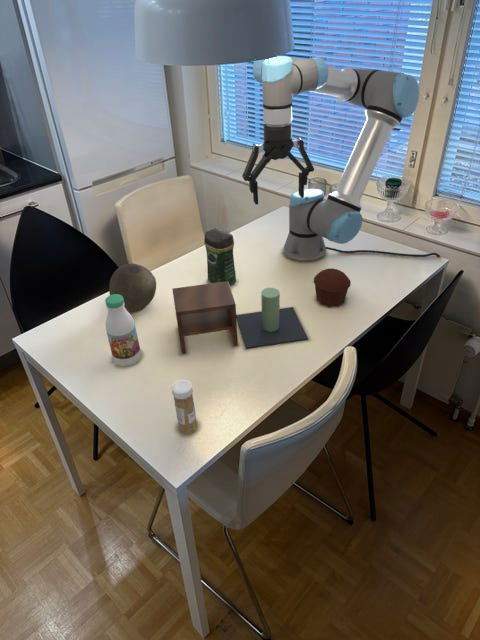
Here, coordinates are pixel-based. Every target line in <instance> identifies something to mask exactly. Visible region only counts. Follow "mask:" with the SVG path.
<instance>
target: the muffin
mask: <svg viewBox="0 0 480 640" xmlns="http://www.w3.org/2000/svg"><path fill="white" fill-rule="evenodd" d="M312 283H313V284H314V288H315V297H316V301H317V302H318V303H319V305H321V306H324V307H328V308H336V307H337V308H338V307H339V306H341V305H344V304H345V301H346V297H347V294H348V290H349V289H350V287H351V285H352V280H350V278H349V277H348V275H346V273H345V272H344V271H342V270H340V269H339V268H333V267H332V268H331V267H330V268H325V269H322V270H320V271H319V272H317V274H316V275H315V276H314V277H313V282H312Z"/></svg>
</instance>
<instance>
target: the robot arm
mask: <svg viewBox="0 0 480 640" xmlns="http://www.w3.org/2000/svg"><path fill="white" fill-rule="evenodd" d="M276 56H277V57H273V58H269V59H265V60H260V61H255V60H254V62H253V64H252V65H253V66H252V75H253V78H254V79H255V81H256V82H258V83H259V84H261V87H262V88H261V89H262V111H263V112H262V113H263V114H262V116H263V117H262V118H263V120H262V121H263V123H264V125H263V143H262V144H257V143H255V142H254V143H253V144H252V147H251V153H250V156H249V158H248V161H247V163H246V165H245V168H244V170H243V172H242V175H241V176H242V179H243V180H244V182H248V185H249V186H248V187H249V192H250V193H251V194H252V197H253V202H254V204H255V205H259V188H258V187H259V186H258V181H257V179H258V178H259V176H260V175H261V173H262V172H263V170H264V169H265V167H266V166H267V165H268V164H269V163H271V161H272V160H273V161H277V160H285V159H286V158H289V159H290V160H291V161H292V163H293V164H294V165H295V166H296V167H297V168H298V170H300V171H301V172H298V190H297V191H295V192H293V193H292V194H291V195H290V198H289V204H288V209H289V210H288V215H289V216H288V218H289V219H288V234H287V237H286V239H285V242H284V245H283V254H284V256H286V257H287V258H288V259H290V260H292V261H296V262H303V263H307V262H315V261H318V260H321V259H322V258H323V257H324V256H325V255H326V250H329V251H332V252H333V251H334V252H338V253H341V254H355V253H356V254H357V253H371V254H383V255H392V256H401V257H413V258H426V257H430V256H436V257H438V258H440V257H441V255H440V254H439V253H437V252H430V253H426V254H416V253H415V254H412V253H401V252H400V253H399V252H391V251H383V250H370V249H358V250H357V249H356V250H341V249H338V248H335V247H330V246H326V244H325V240H324V238H325V239H327V240H328V241H330V242H333V243H336V244H340V245H344V244H347V243H349V242H350V241H352V240H353V239H355V238H356V236H357V235H358V234H359V232H360V231H361V228H362V225H363V218H364V217H363V215H362V214H361V210H362V204H361V199H362V198H363V194H364V192H365V191H366V188H367V186H368V184H369V182H370V180H371V177H372V175H373V173H374V171H375V168H376V167H377V163H378V161H379V159H380V157H381V154H382V153H383V150H384V148H385V146H386V144H387V142H388V139H389V137H390V135H391V133H392V130H394V128H397V127H399V126H400V125H401V122H402V121H403V119H406V118H409V117H411V115H413V114H414V112H415V111H416V109H417V106H418V103H419V99H420V85H419V83H418V80H417V79H416V77H414V76H413V75H411V74H407V73H404V72H395V71H388V70H381V69H372V68H351V67H344V68H342V69H338V68H334V67H330V66H328V63H327V62H326V61H325V60H324V59H323V58H321V57H310V58H307V59H306V58H305V59H303V58H296V57H290V56H287V55H276ZM304 93H305V94H306V93H313V94H320V95H326V96H331V97H335V99H337V100H338V101H340V102H345V103H349V104H351V105H353V106H356V107H359V108H361V109H365V110H364V114H365V117H366V120H365V122H364V124H363V128H362V129H361V131H360V134H359V136H358V139H357V141H356V142H355V145H354V148H353V150H352V152H351V154H350V156H349V158H348V162H347V164H346V165H345V167H344V170H343V173H342V174H341V177H340V180H339V182H338V184H337V187H336V188H335V190H334V191H333V192H331V193H329V194H328V196H327V197H326V196H325V193H324V190H322V189H318V188H305V186H307V185H308V177H309V175H310V173H313V172H314V171H315V167H314V165H313V163H312V161H311V159H310V157H309V154H308V153H307V151H306V149H305V142H304V140H303V139H302V138H301V137H297V138H296V139H294V140H293V124H292V122H293V97H294V96H297V95H301V94H304ZM294 147H295V148H296V149H297V150H298V152H299V154H300V156H301V157H302V160H303V162H304V164H305V166H306V167H305V166H304V165H303V164H302V163H301V162H300V161H299V160H298V159H297V158H296V156H294V154H293V153H292V152H291V151H292V149H293V148H294ZM262 151H264V153H263V155H262V157H261V158H260V160H259V161H258V163H257V164H256V162H257V160H258V157H259V154H261V152H262ZM255 165H256V166H255ZM325 197H326V199H325Z"/></svg>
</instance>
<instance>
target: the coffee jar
mask: <svg viewBox="0 0 480 640" xmlns="http://www.w3.org/2000/svg"><path fill="white" fill-rule="evenodd" d="M203 243H204V247H205V251H206V267H207V269H206V270H207V271H206V273H207V281H208V283H209V284H210V283H217V282H225V281H228V282H229V285H230V287H232V286H233V285H234V284H236V282H237V276H236V267H235V266H236V265H235V258H234V246H235V240H234V236H233V234H231V233H230V232H228V231H225V230H223V229H220V228H216V227H214V228H211V229H210V230H206V232H205V234H204V239H203Z"/></svg>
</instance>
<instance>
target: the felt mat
mask: <svg viewBox="0 0 480 640" xmlns="http://www.w3.org/2000/svg"><path fill="white" fill-rule="evenodd" d="M236 320H237V325H238V328H239V330H240V334H241V337H242V340H243V344H244V346H245V349H246V350H251V349H257V348H263V347H269V346H275V345H282V344H288V343H295V342H301V341H307V340H309V337H308V335H307V334H306V331H305V329H304V327H303V325H302V323H301V321H300V319H299V317H298V314H297V313H296V311H295V308H294V307H293V306H291V307H289V306H288V307H284V308H280V320H279V329H278V330H276V331H272V332H269V331H265V330H264V329H263V328H262V310H261V311H255V312H249V313H247V312H246V313H240V314H236Z"/></svg>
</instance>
